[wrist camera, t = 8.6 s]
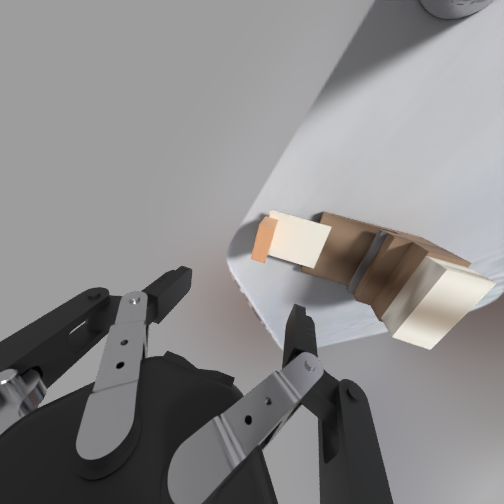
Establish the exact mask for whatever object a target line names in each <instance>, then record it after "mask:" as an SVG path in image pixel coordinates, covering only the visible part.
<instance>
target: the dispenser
mask: <svg viewBox="0 0 504 504" xmlns="http://www.w3.org/2000/svg"><path fill="white" fill-rule="evenodd" d="M319 223H321V224H324V225H328V226H331V227H332V228H331V230H330V232H329V235H328V237H327V239H326V242H325V244H324V246H323V248H322V251H321V253H320V255H319V258H318V260H317V262H316V265H315V267H314V269H313V268H310V267H307V266H304V265H302V266H301V271H302V272H306V273H309V274H312V275H315V276H319V277H322V278H325V279H328V280H332V281H335V282H338V283H341V284H344V285H348V286H347V288H346V289H347V292H349V293H352V294H353V295H354V297H355V299H356V301H358V302H362V303H365V304H368V305H371V307H372V309H373V311H374V313H375V315H376V316H377V318H378V320H379V321H381V322H384V324H385V326H386V328H387V329H388V331H389V333H390V335H391V336H392V337H393V338H396V339H399V340H402V341H405V342H408V343H411V344H414V345H417V346H420V347H423V348H426V349H429V350H431V349H432V348H433V347H434V346H435V345H436V343H437V342H439V340H441V339H442V338H443V337H444V335H446V334H447V333H448V332H449V330H450V329H452V328H453V327H454V326H455V324H457V322H458V321H459V320H461V319H462V318H463V316H464V315H466V314H467V313H468V312H469V311H470V310H471V309H472V308H473V307H474V306H475V305H476V304H477V303H478V302H479V301H480V300H481V299H482V298H483V297H484V295H485V294H486V293H487V292H488V291H489V290H490V289H491V288H492V287H493V286H494V285H495V284H496V283H495V282H493V281H491V280H490V279H488V278H486V277H484V276H482V275H481V274H479V273H477V272H475V271H473V270H472V269H470V268H468V267H469V265H470V264H471V263H470V262H468V261H466V260H464V259H462V258H460V257H459V256H457V255H455V254H453V253H451V252H449V251H447V250H445V249H443V248H441V247H439V246H437V245H435V244H433V243H432V242H430V241H428V240H426V239H424V238H421V237H417V236H414V235H410V234H406V233H402V232H399V231H395V230H391V229H387V228H383V227H380V226H376V225H372V224H368V223H365V222H361V221H357V220H353V219H350V218H346V217H342V216H338V215H335V214H331V213H327V212H323V213H322V215H321V218H320V220H319Z"/></svg>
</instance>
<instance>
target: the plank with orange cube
mask: <svg viewBox="0 0 504 504" xmlns="http://www.w3.org/2000/svg"><path fill="white" fill-rule="evenodd" d="M331 228H332V227H331V226H328V225H324V224H321V223H317V222H313V221H310V220H306V219H302V218H299V217H295V216H291V215H288V214H284V213H280V212H277V211H273V210H271V211H270V214H269V217H267V216H265V218H264V219H263V220H262V222H261V223H260V224H259V227H258V231H257V235H256V239H255V244H254V248H253V252H252V256H251V259H253V260H256V261H260V262H263V263H265V261H266V258H267V256H268V255H271V256H274V257H277V258H281V259H284V260H287V261H290V262H294V263H297V264H300V265H304V266H307V267H310V268H313V269H314V267H315V265H316V262H317V260H318V258H319V255H320V253H321V251H322V248H323V246H324V244H325V242H326V239H327V237H328V235H329V232H330V230H331Z"/></svg>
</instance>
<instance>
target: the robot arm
mask: <svg viewBox="0 0 504 504" xmlns="http://www.w3.org/2000/svg"><path fill="white" fill-rule="evenodd" d="M494 1H495V0H420V2H421V3H422V5H423V6H424V8H425V9H426V10H427V11H428V12H429V13H431V14H432V15H434V16H436V17H439V18H443V19H457V18H461V17H465V16H469V15H471V14H473V13H475V12H477V11H479V10H481V9H483V8H485V7H486V6H488V5H489V4H491V3H492V2H494ZM191 279H192V269H190V268H187V267H184V266H181V267H179V268H178V269H177V270H176V271H175V270H171V271H169V272H166V273H165V274H163V275H162V276H161V277H160V278H158V279H157V280H155V281H154V282H153V283H152V284H150V285H149V286H148V287H146V288H145V289H144V290H142V291H141V292H140V291H135V292H130V293H128V294H126V295H124V296H111V295H109V291H108V290H107V289H106V288H101V287H99V288H91V289H88V290H86V291H84V292H82V293H81V294H79V295H77V296H76V297H74V298H72V299H71V300H69V301H68V302H66V303H64V304H63V305H61V306H59V307H58V308H56V309H54V310H52V311H51V312H49V313H47V314H46V315H44V316H42V317H41V318H39V319H38V320H36V321H35V322H33V323H31V324H29V325H28V326H26V327H24V328H23V329H21V330H19V331H18V332H16V333H14V334H13V335H11V336H9V337H8V338H6V339H4V340H3V341H1V342H0V504H278V501H277V498H276V495H275V492H274V488H273V485H272V482H271V478H270V475H269V472H268V468H267V465H266V462H265V459H264V455H263V452H262V451H263V450H264V449H265V448H266V447H267V446H268V445H269V443H270V442H271V441H272V440H273V439H274V437H275V436H276V435H277V434H278V432H279V431H280V430H281V428H282V427H283V426H284V425H285V424H286V422H287V421H288V420H289V419H290V418H291V417H292V416H293V415H294V413H295V412H296V411H297V410H298V409H299V408H300V407H301V405H304V406H305V407H306V408H307V409H309V410H310V411H311V412H312V413H313V414H314V415H316V416H317V417H318V434H319V435H318V436H319V477H320V504H393V500H392V496H391V492H390V488H389V484H388V480H387V476H386V472H385V467H384V463H383V460H382V456H381V452H380V448H379V443H378V439H377V435H376V431H375V427H374V423H373V419H372V415H371V411H370V407H369V403H368V399H367V397H366V395H365V393H364V392H363V390H362V389H361V388H360V387H359V386H358V385H357V384H356V383H354V382H353V381H351V380H348V379H343V380H341V381H340V382H339V381H338V380H337V379H335V378H334V377H332V376H331V375H330V374H328V373H327V372H326V371H325V370H324V369H323V365H322V363H321V362H320V360H319V359H318V355H317V345H316V337H315V336H316V335H315V324H314V322H313V320H312V318H311V317H309V316H306V309H305V307H303V306H300V305H297V304H294V306H293V308H292V311H291V313H290V315H289V318H288V320H287V324H286V331H285V342H284V354H283V364H282V370H281V371H279V372H277V371H275V372H273V373H272V374H271V375H269V376H268V377H267V378H266V379H265V380H263V381H262V382H261V383H260V384H259V385H257V386H256V387H255V388H253V389H252V390H251V391H250V392H249V393H247V394H246V395H245V396H243V394H242V393H241V391H240V390H239V389H238V388H237V387H236V386H235V385H234V384H233V382H234V377H231V376H229V375H226V374H224V373H221V372H218V371H213V370H204V369H197V368H196V367H195V366H194V365H192V364H191V363H190V362H189V361H187V360H186V359H185V358H184V357H181V356H179V355H177V354H174V353H172V352H169V351H167V352H166V353H165V355H164V356H154V357H149V358H147V352H148V337H149V325H150V324H151V323H152V322H155V323H157V324H159V323H160V322H161V321H162V320H163V319H164V318H165V316H166V315H167V314H168V313H169V312H170V311H171V310H172V309H173V308H174V307H175V306H176V305H177V304H178V302H179V301H180V300H181V299H182V298H183V297H184V296H185V295H186V294H187V293H188V291H189V290H190V287H191ZM84 321H85V323H84V324H83V325H81V326H80V327H79V328H77V329H76V330H75V331H73V332H72V333H71V334H70V332H71V331H72V330H73V329H74V328H76V327H77V326H78V325H80V324H81V323H83V322H84ZM108 333H109V334H108ZM69 334H70V335H69ZM106 334H108V337H107V341H106V345H105V349H104V352H103V356H102V359H101V363H100V367H99V370H98V374H97V378H96V381H95V382H93V383H91V384H89V385H86V386H84V387H82V388H80V389H78V390H76V391H74V392H72V393H69V394H67V395H65V396H63V397H61V398H59V399H57V400H54V401H52V402H50V403H48V404H46V405H44V406H42V407H39V408H38V405H39V404H40V403H41V402H42V400H43V399H44V397H45V395H46V392H47V389H48V388H49V387H50V386H51V385H52V384H53V383H54V382H55V381H56V380H57V379H58V378H59V377H61V376H62V375H63V374H64V373H65V372H66V371H67V370H68V369H69V368H70V367H72V366H73V364H75V363H76V362H77V361H78V360H79V359H80V358H81V357H82V356H84V355H85V354H86V353H87V352H88V351H89V350H90V349H91V348H92V347H93V346H94V345H96V344H97V343H98V342H99V341H100V340H101V339H102V338H103V337H104V336H105V335H106Z"/></svg>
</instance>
